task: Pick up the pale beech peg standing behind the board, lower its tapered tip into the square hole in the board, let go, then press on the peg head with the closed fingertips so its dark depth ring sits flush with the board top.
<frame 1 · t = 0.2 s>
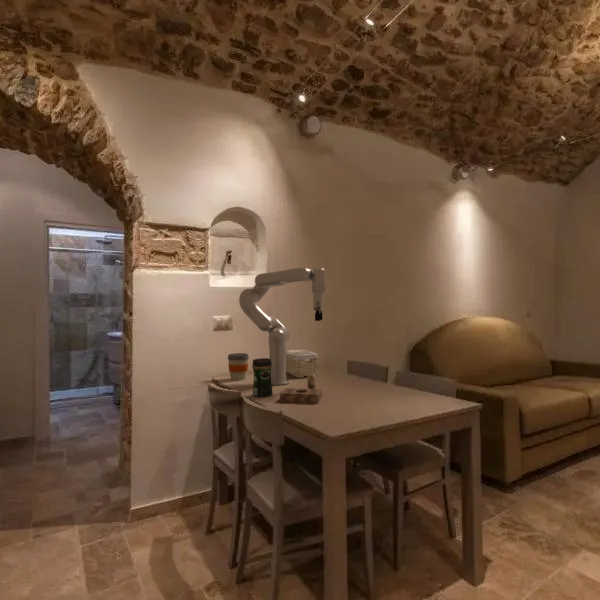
hand: (318, 320, 243), 36 cm above the table, tool pointing down, fingers open, 9 cm apart
peg: (311, 394, 217), on the table
board: (301, 399, 206), on the table
coffee jar: (262, 395, 216), on the table
storage basket: (300, 375, 278), on the table
reusable coffee cup: (238, 379, 262), on the table
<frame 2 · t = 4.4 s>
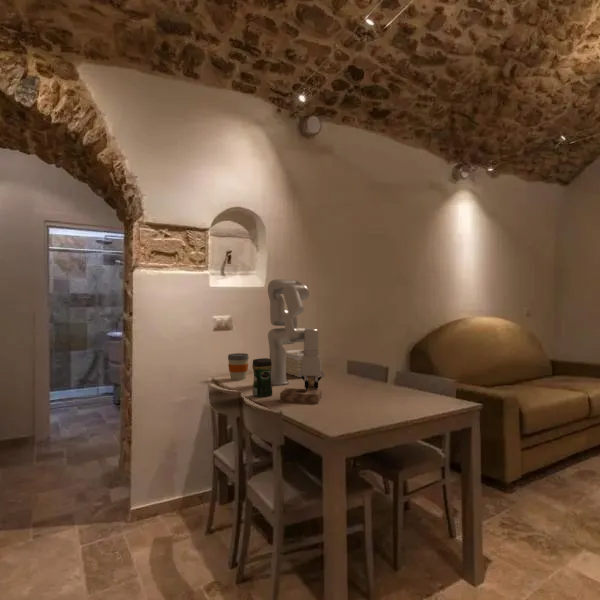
hand: (311, 389, 217), 3 cm above the table, tool pointing down, fingers closed on peg, 4 cm apart
peg: (311, 394, 217), on the table, touching gripper
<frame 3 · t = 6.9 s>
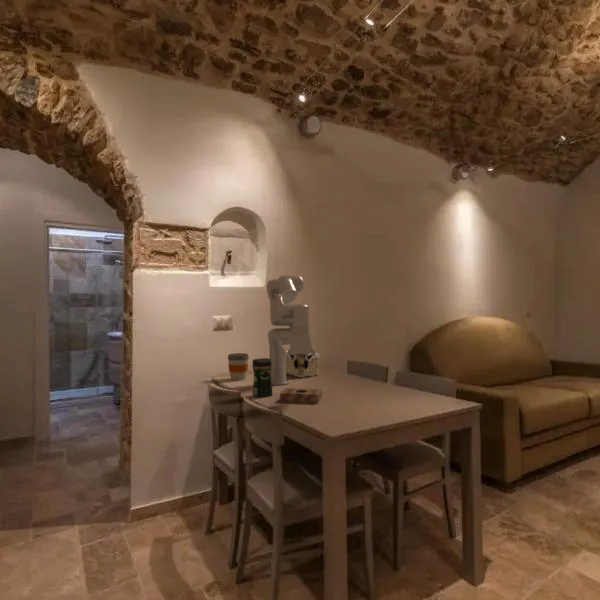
hand: (301, 368, 206), 15 cm above the table, tool pointing down, fingers closed on peg, 4 cm apart
peg: (301, 374, 206), point 12 cm above the table, touching gripper
when the fingers open (5 cm above the table, at t = 9.6 s): peg drops 2 cm, resting in board.
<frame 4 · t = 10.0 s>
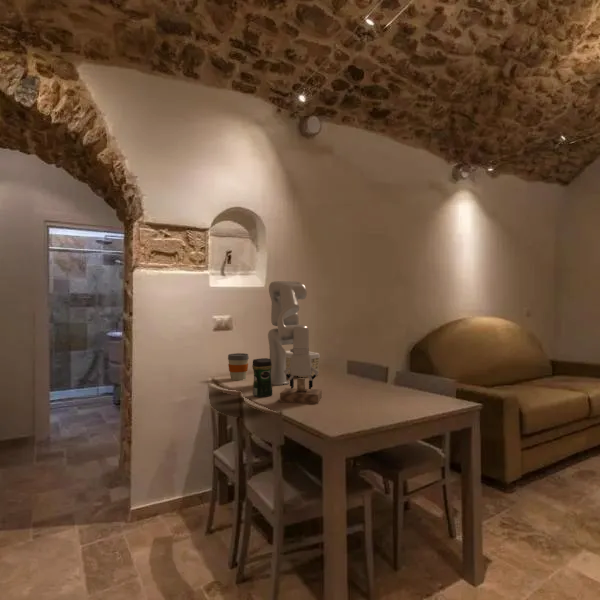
hand: (301, 388, 206), 6 cm above the table, tool pointing down, fingers open, 8 cm apart
peg: (301, 399, 206), resting in board
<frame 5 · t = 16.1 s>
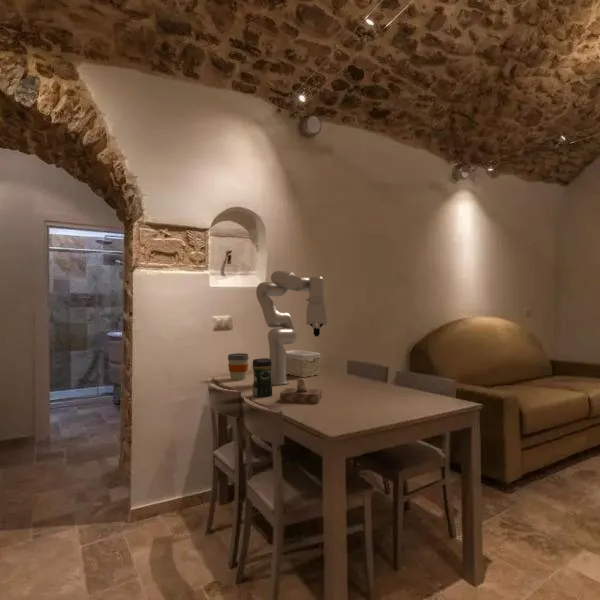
hand: (316, 336, 222), 29 cm above the table, tool pointing down, fingers closed
at the end: peg 0.0 cm off-centre on the board, point 0.0 cm above the board's base; peg tilted 0°; the gripper is holding nothing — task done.
